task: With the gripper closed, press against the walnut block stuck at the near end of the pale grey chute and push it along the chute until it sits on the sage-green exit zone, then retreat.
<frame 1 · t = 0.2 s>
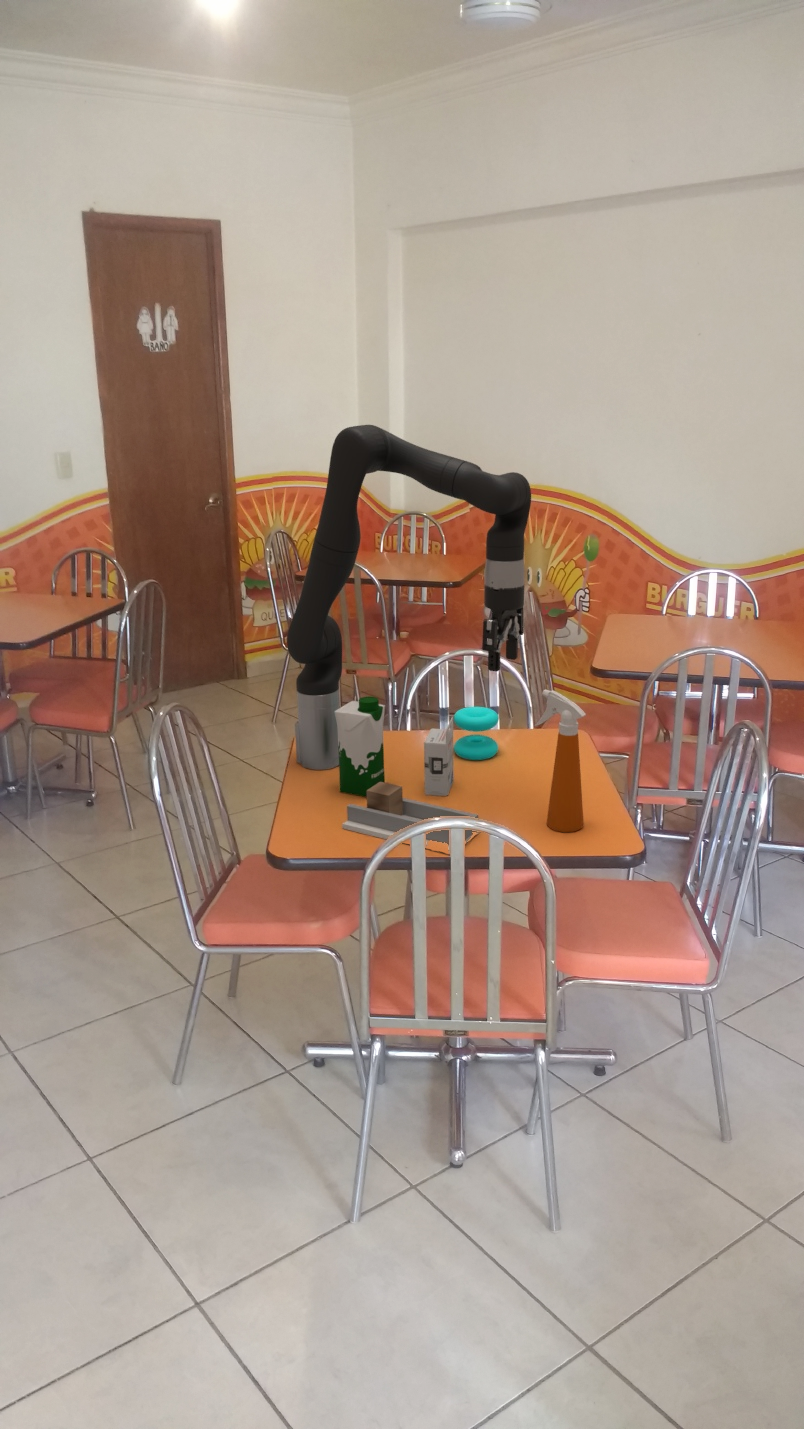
hand: (502, 664, 200), 29 cm above the table, fingers open, 8 cm apart
donuts: (475, 754, 235), on the table
chute: (412, 829, 198), on the table
block: (384, 802, 200), point 4 cm above the table, slide at 0.0 cm
milk carton: (362, 789, 217), on the table
ink box: (439, 788, 217), on the table
spray bottle: (556, 823, 200), on the table
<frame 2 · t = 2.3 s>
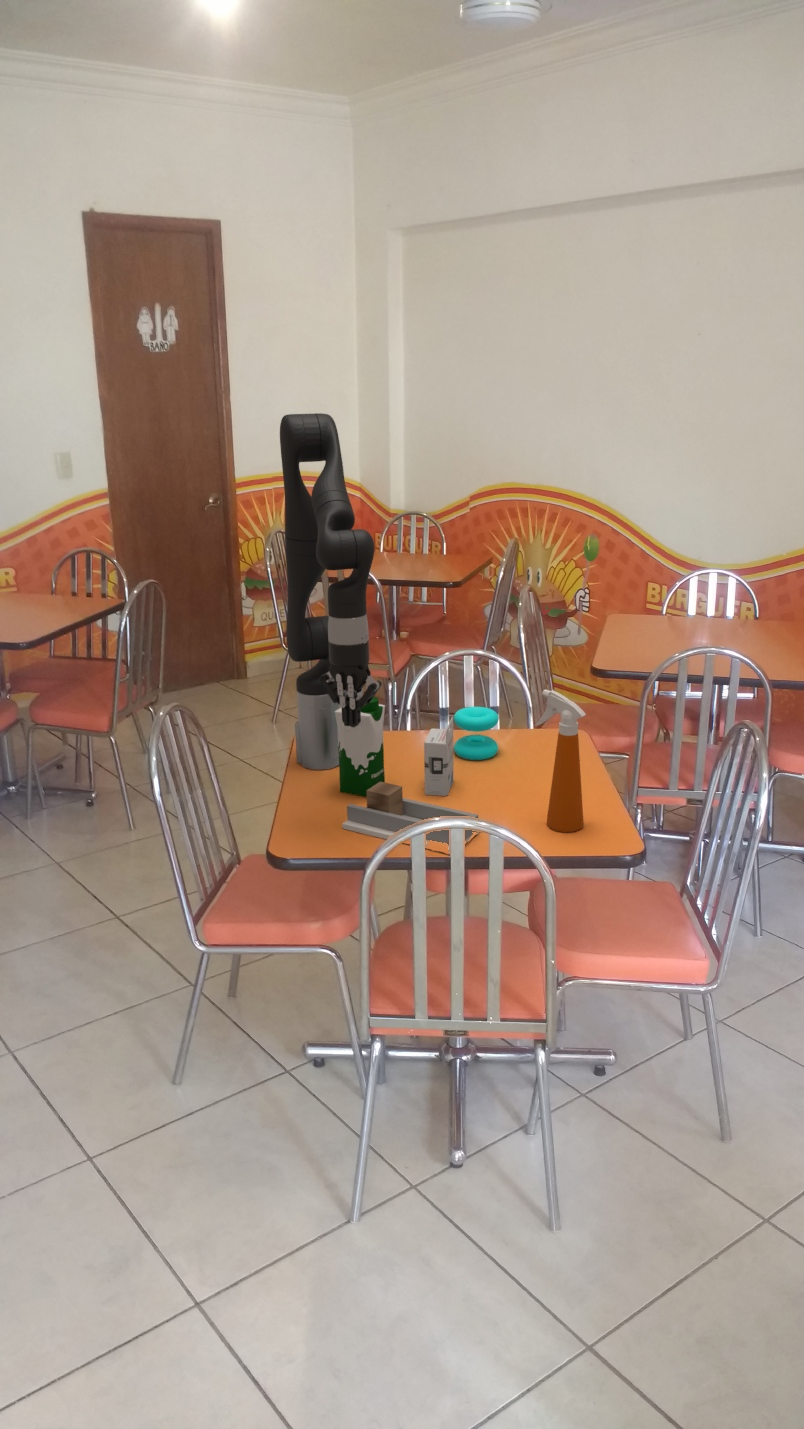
hand: (351, 725, 198), 19 cm above the table, fingers closed
nothing on the table moved.
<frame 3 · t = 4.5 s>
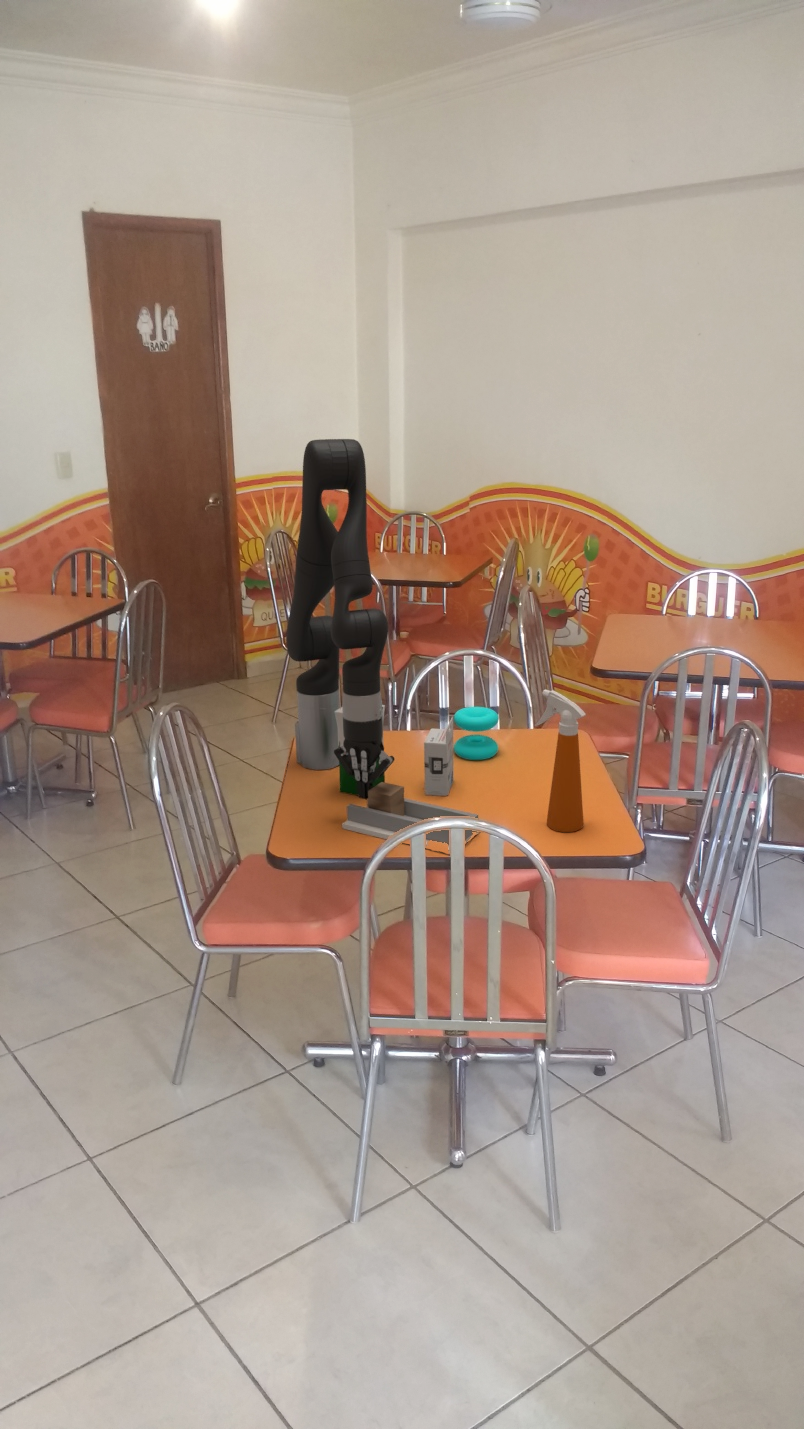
hand: (365, 797, 202), 5 cm above the table, fingers closed
block: (386, 803, 200), point 4 cm above the table, slide at 0.4 cm, touching gripper
everything else where it was.
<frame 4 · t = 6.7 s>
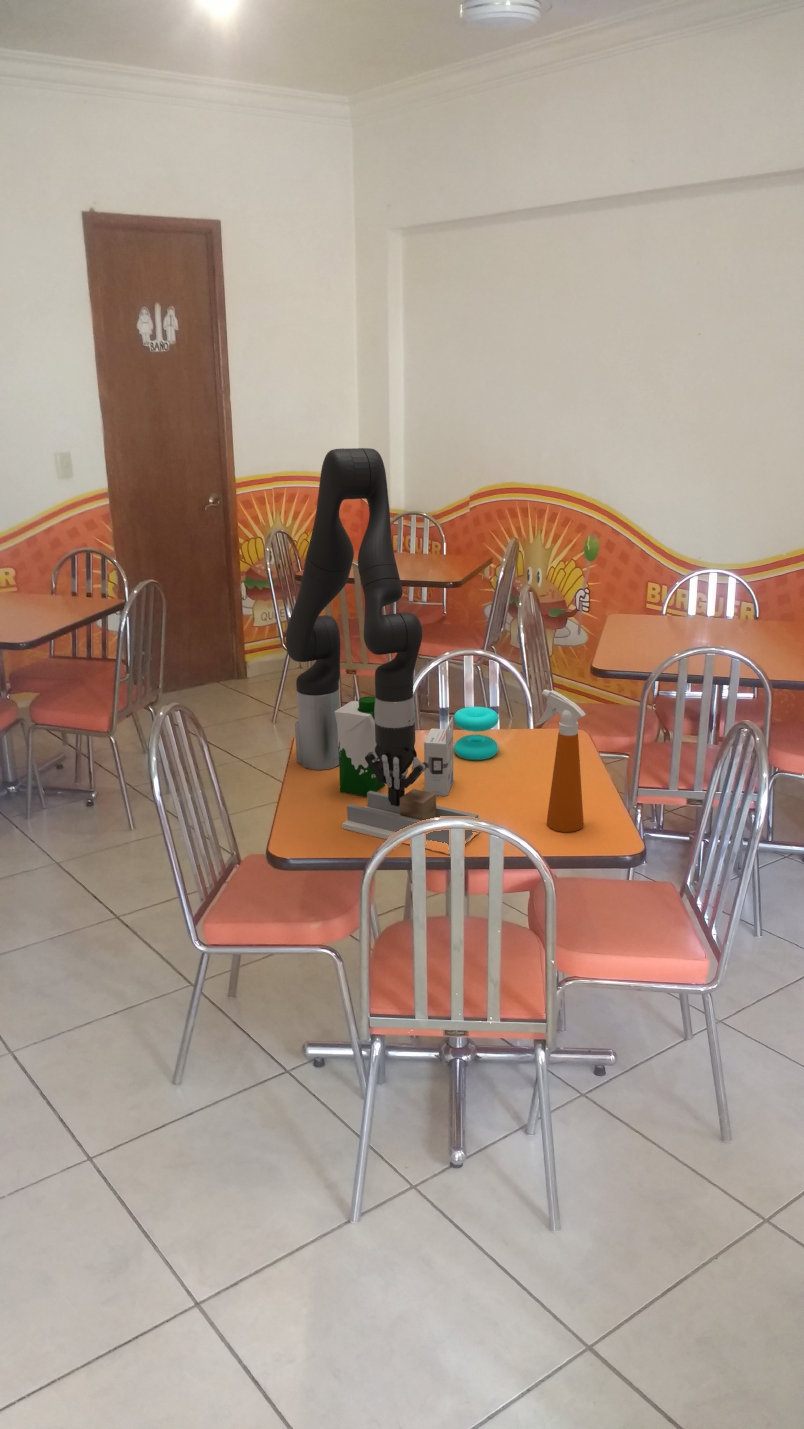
hand: (396, 804, 198), 5 cm above the table, fingers closed
block: (418, 810, 196), point 4 cm above the table, slide at 7.4 cm, touching gripper
everything else where it was.
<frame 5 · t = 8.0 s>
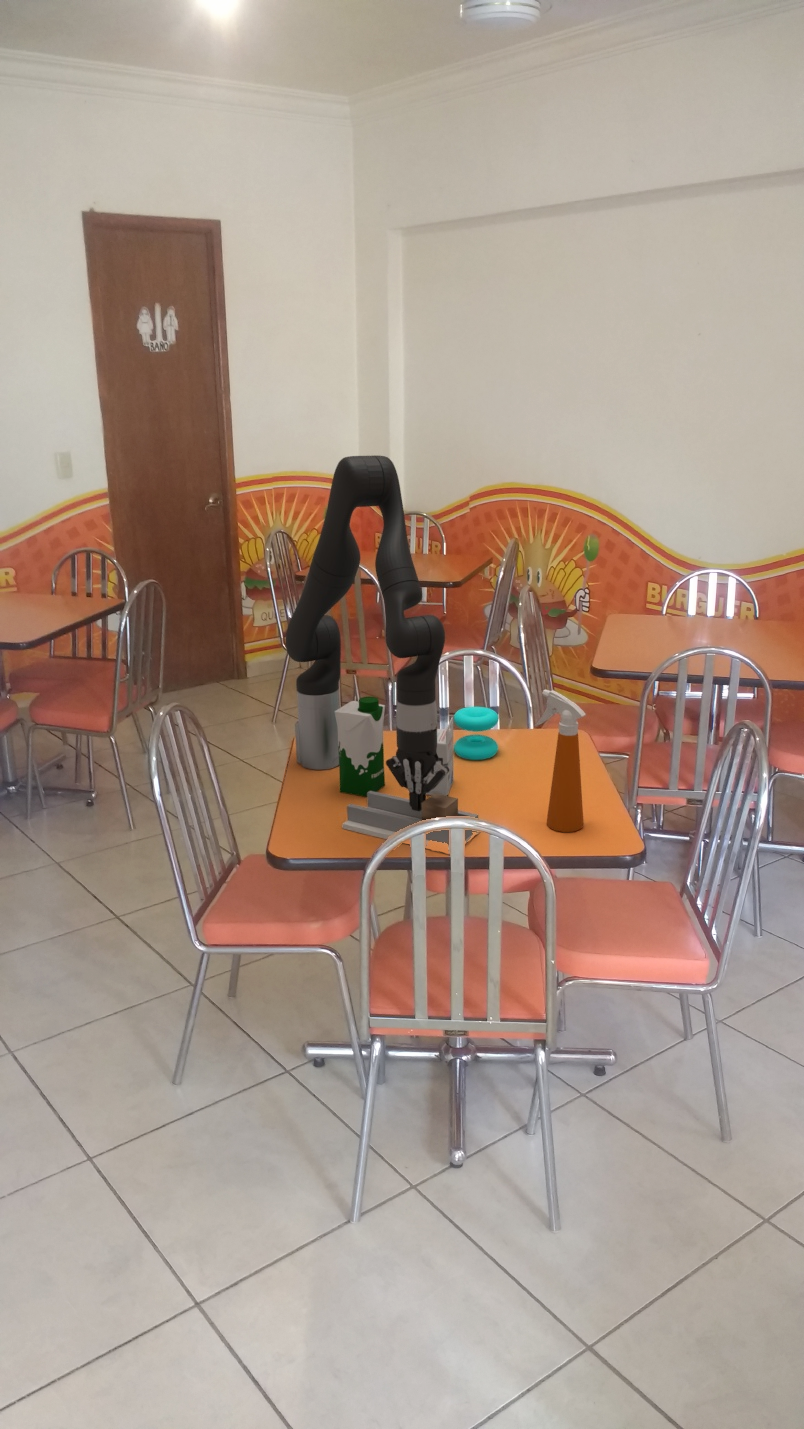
hand: (417, 809, 196), 5 cm above the table, fingers closed
block: (439, 815, 194), point 4 cm above the table, slide at 12.1 cm, touching gripper
everything else where it was.
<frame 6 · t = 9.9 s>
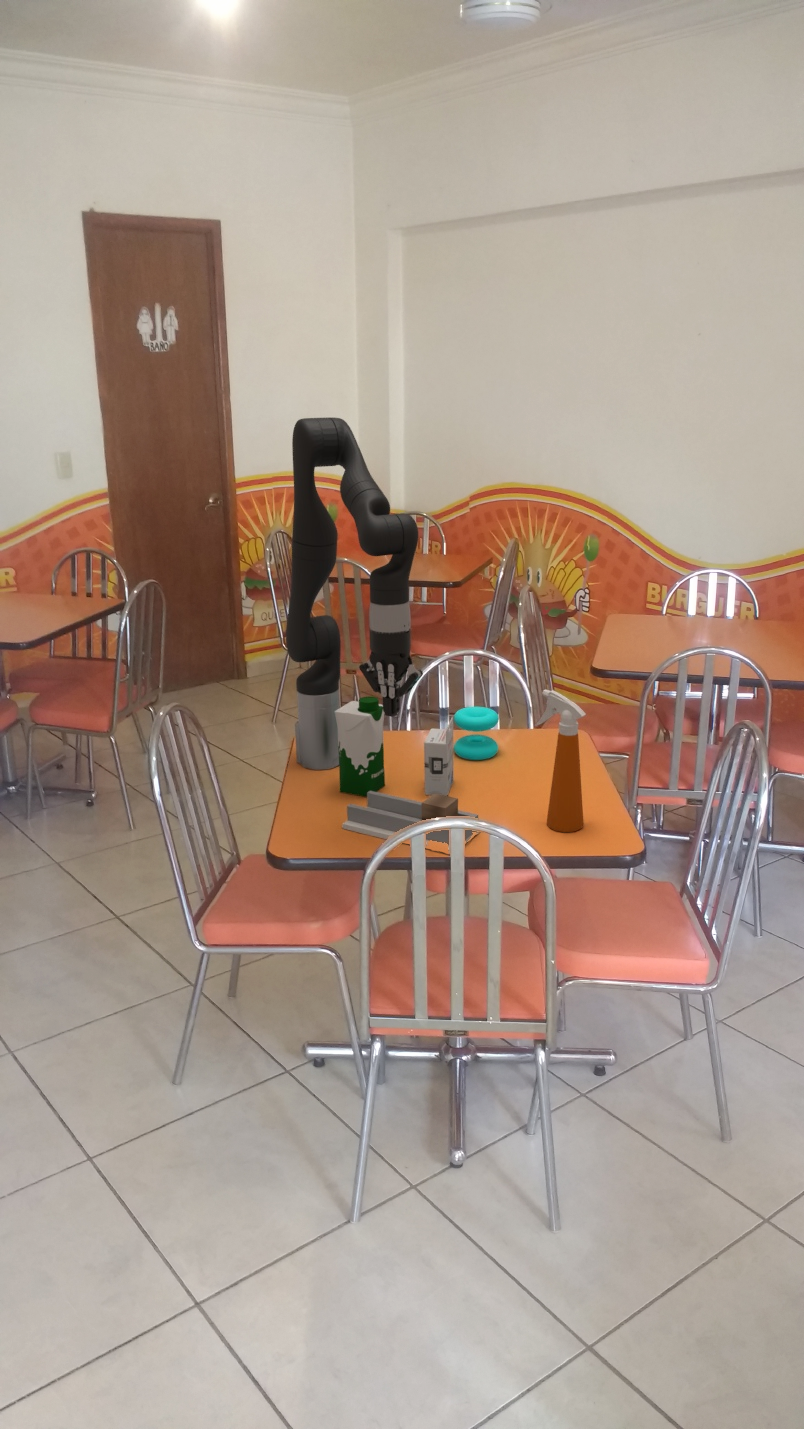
hand: (391, 714, 194), 22 cm above the table, fingers closed
block: (439, 815, 194), point 4 cm above the table, slide at 12.1 cm
everything else where it was.
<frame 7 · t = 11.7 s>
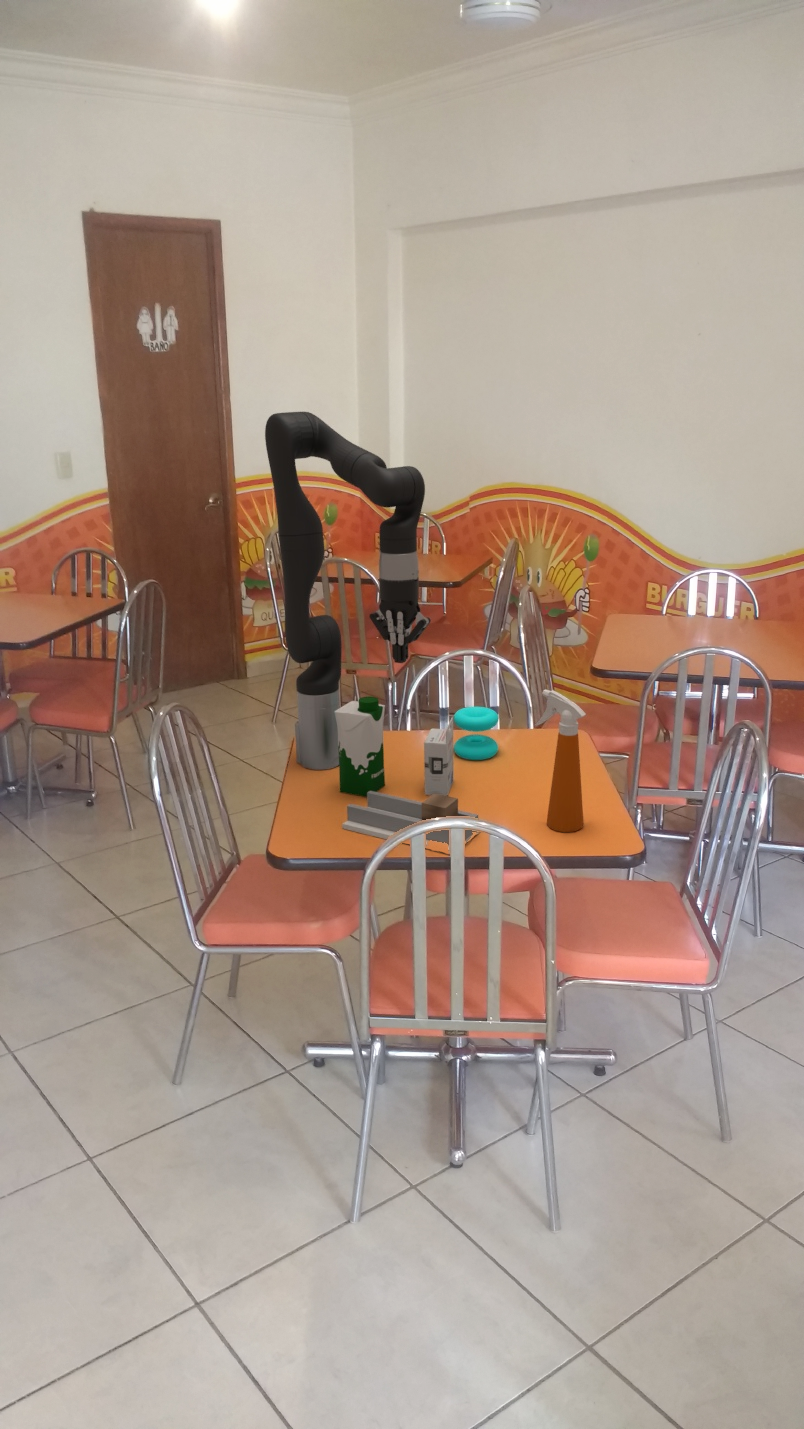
hand: (400, 662, 203), 29 cm above the table, fingers closed
nothing on the table moved.
at the end: block slide at 12.1 cm; block inside the target area on the chute (0.9 cm from its centre), point 4.3 cm above the chute's base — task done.
